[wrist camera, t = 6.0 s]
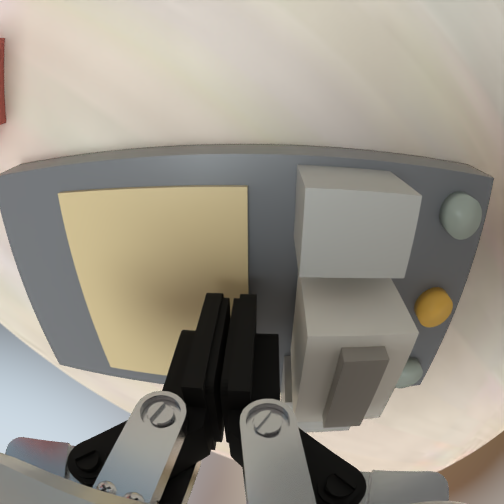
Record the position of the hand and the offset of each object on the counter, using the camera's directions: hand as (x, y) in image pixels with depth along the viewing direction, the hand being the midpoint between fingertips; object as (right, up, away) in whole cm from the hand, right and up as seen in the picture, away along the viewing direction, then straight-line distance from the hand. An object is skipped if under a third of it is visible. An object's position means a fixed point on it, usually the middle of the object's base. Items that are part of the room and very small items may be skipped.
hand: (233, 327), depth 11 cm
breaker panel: (0, +2, +3) cm, 3 cm away
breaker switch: (+4, 0, +1) cm, 4 cm away
